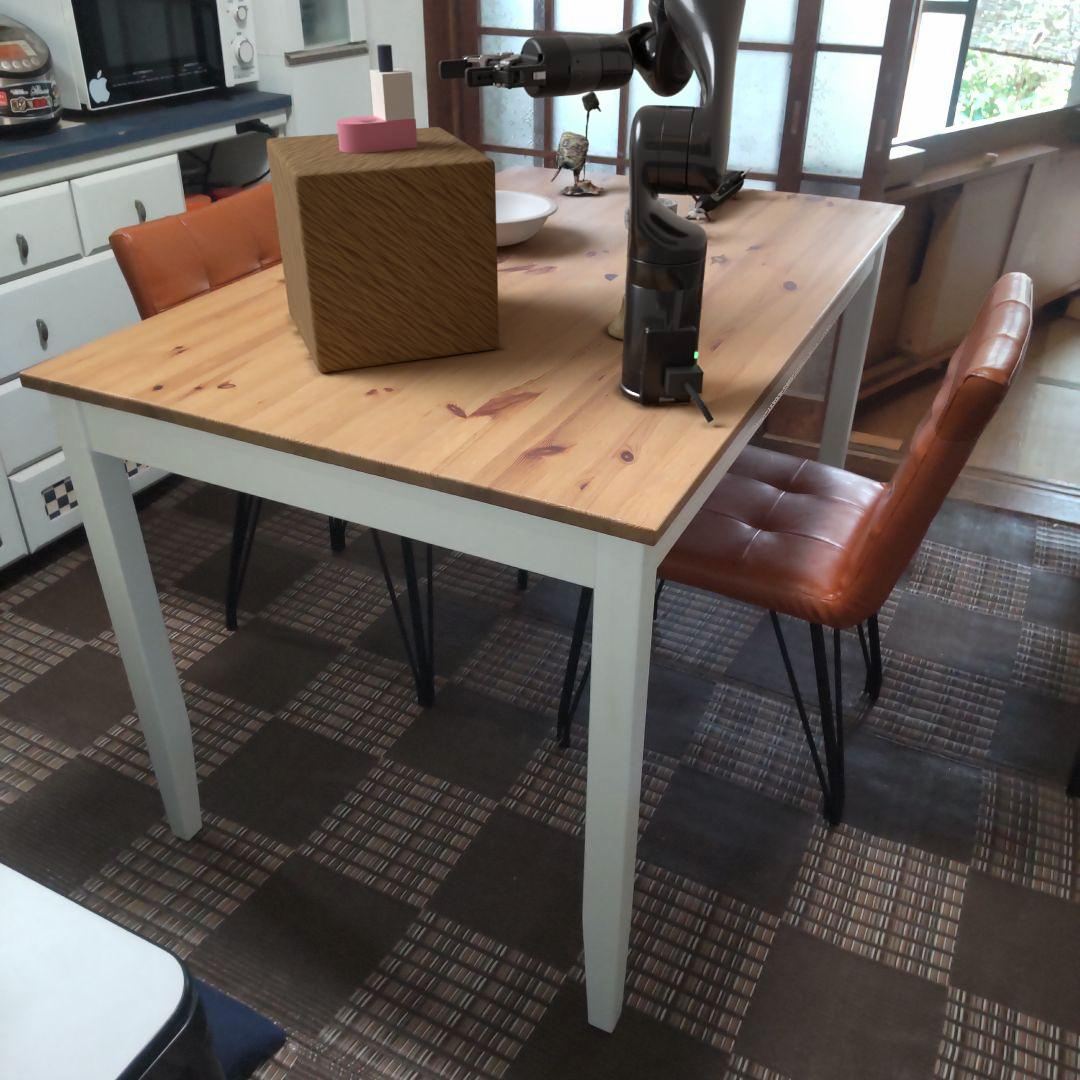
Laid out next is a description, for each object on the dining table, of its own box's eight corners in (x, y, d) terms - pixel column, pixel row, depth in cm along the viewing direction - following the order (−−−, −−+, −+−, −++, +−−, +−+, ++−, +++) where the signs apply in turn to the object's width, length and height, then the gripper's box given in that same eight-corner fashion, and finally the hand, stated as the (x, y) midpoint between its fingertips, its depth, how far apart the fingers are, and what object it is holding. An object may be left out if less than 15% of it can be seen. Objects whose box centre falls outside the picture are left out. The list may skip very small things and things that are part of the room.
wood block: (288, 314, 151) (264, 137, 138) (449, 295, 159) (441, 125, 146) (318, 375, 132) (293, 175, 118) (500, 349, 139) (496, 159, 126)
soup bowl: (399, 241, 185) (396, 204, 182) (500, 218, 199) (499, 183, 195) (481, 270, 170) (480, 230, 167) (584, 243, 184) (585, 206, 180)
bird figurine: (561, 186, 223) (562, 87, 212) (608, 191, 218) (612, 91, 208) (545, 194, 216) (545, 92, 206) (594, 199, 212) (596, 96, 202)
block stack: (403, 141, 136) (396, 41, 130) (417, 147, 132) (411, 45, 126) (334, 147, 132) (323, 46, 126) (347, 154, 128) (337, 50, 122)
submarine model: (690, 236, 197) (731, 205, 191) (670, 207, 196) (711, 175, 190) (733, 201, 221) (771, 173, 215) (716, 175, 220) (753, 146, 214)
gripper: (536, 31, 142) (429, 37, 136) (587, 40, 131) (474, 47, 125) (536, 89, 146) (432, 97, 140) (586, 103, 135) (476, 112, 129)
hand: (452, 73), depth 132 cm, fingers open, 8 cm apart
